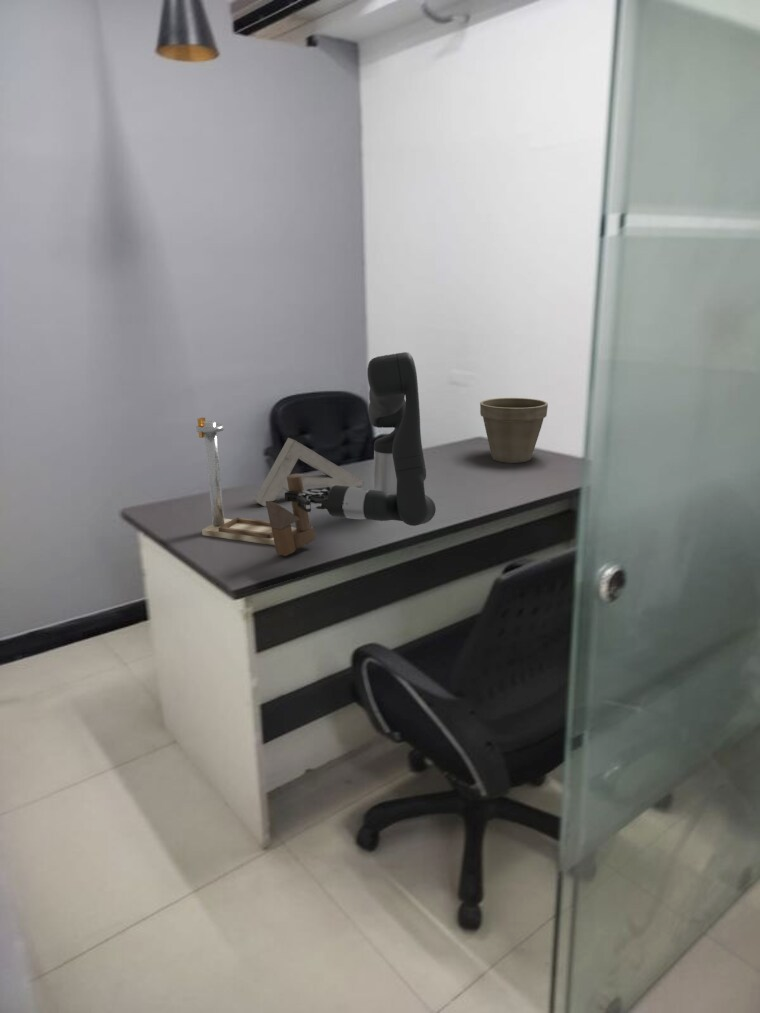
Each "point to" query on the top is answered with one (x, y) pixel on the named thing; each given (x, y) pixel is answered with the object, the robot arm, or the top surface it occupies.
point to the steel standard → (213, 467)
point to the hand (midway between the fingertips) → (286, 495)
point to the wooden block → (290, 522)
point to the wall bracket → (286, 464)
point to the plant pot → (513, 427)
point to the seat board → (243, 530)
